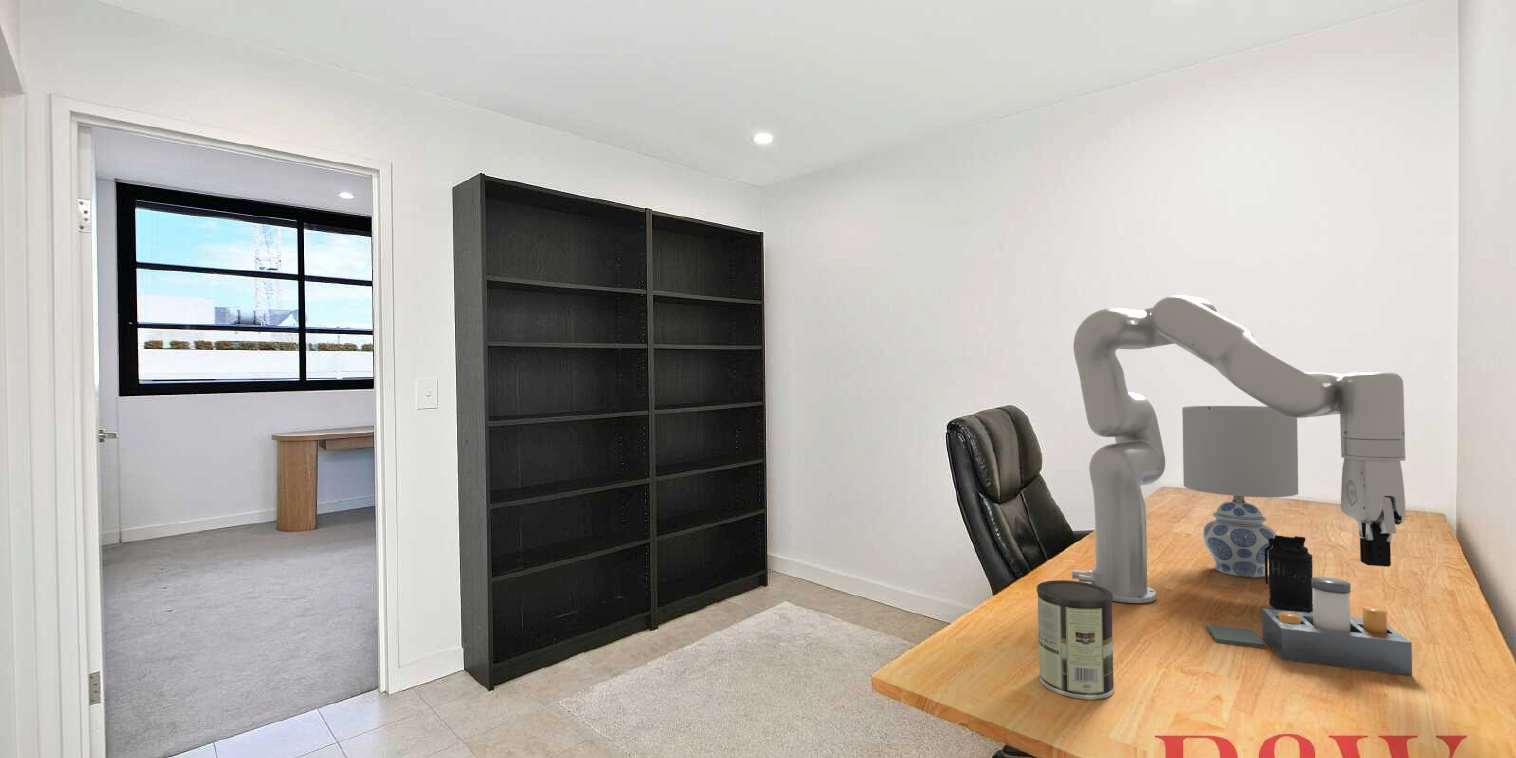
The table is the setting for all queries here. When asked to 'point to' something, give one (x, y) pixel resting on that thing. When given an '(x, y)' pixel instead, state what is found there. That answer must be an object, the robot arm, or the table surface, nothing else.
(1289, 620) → the plunger left
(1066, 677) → the coffee can
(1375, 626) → the plunger right
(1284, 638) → the housing
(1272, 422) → the lamp
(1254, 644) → the mat
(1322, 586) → the ball
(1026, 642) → the table surface
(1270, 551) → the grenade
